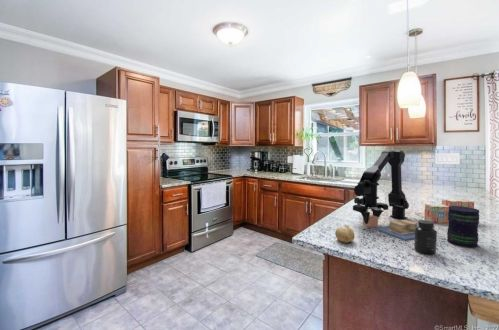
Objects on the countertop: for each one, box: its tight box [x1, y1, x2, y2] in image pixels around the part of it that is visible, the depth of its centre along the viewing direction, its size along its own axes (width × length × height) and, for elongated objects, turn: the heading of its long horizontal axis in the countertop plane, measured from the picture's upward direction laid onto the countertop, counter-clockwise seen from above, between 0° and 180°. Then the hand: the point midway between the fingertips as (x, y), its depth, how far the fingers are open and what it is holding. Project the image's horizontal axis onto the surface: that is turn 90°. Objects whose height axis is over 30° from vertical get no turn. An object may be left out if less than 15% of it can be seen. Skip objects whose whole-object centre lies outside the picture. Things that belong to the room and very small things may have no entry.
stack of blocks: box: [423, 198, 475, 224], centre depth 129 cm, size 21×6×12 cm, turn 85°
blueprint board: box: [374, 225, 415, 241], centre depth 113 cm, size 18×16×1 cm
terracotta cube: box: [362, 213, 379, 228], centre depth 124 cm, size 5×5×5 cm
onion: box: [334, 224, 356, 244], centre depth 102 cm, size 8×8×7 cm
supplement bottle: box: [413, 219, 438, 256], centre depth 91 cm, size 7×7×12 cm
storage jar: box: [446, 206, 480, 249], centre depth 99 cm, size 10×10×15 cm
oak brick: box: [388, 219, 418, 234], centre depth 113 cm, size 10×6×4 cm, turn 105°
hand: (370, 223), depth 124 cm, fingers closed on terracotta cube, 5 cm apart
